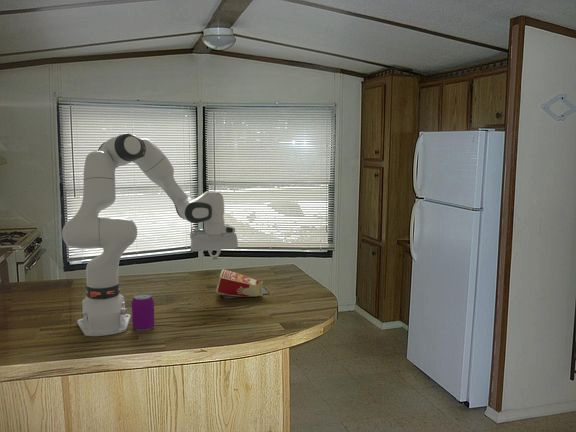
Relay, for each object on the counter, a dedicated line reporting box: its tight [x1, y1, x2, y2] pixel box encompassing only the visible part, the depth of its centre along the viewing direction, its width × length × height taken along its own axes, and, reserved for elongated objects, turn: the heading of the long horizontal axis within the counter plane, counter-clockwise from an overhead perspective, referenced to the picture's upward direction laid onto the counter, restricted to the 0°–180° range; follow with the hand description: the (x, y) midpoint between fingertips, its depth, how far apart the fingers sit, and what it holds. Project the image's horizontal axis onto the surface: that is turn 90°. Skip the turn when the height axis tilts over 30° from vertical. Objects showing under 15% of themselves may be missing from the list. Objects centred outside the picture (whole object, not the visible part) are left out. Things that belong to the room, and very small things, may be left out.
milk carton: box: [215, 268, 264, 298], centre depth 227 cm, size 9×9×20 cm
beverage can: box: [131, 292, 155, 332], centre depth 189 cm, size 8×8×12 cm
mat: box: [215, 286, 270, 299], centre depth 235 cm, size 16×20×1 cm
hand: (214, 259), depth 228 cm, fingers closed
